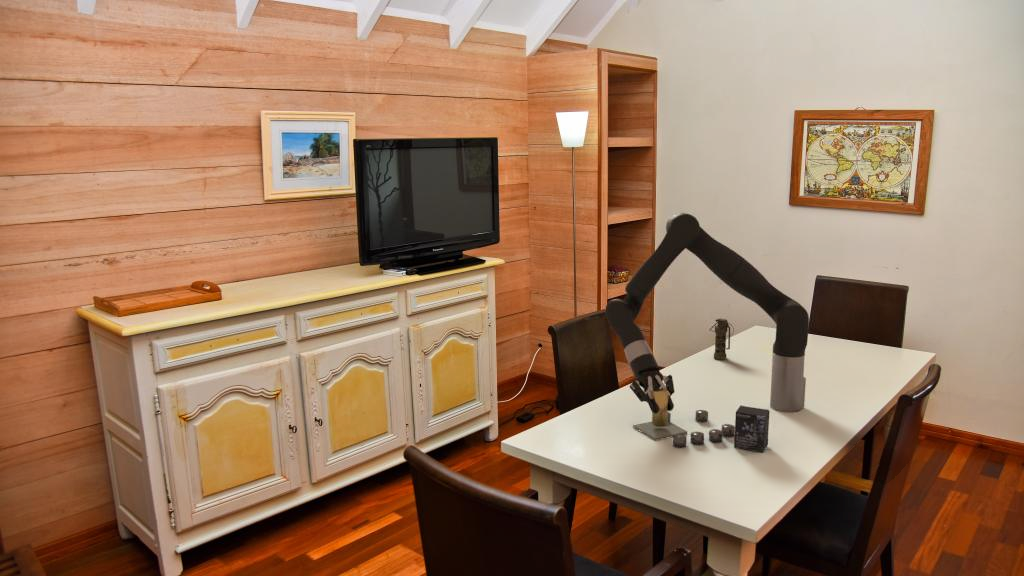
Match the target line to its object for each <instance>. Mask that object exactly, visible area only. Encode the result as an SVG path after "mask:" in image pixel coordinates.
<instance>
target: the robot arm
mask: <svg viewBox="0 0 1024 576" xmlns="http://www.w3.org/2000/svg"><path fill="white" fill-rule="evenodd" d="M665 230H666V231H665V232H666V233H665V235H664V237H663V239H662V240H661V242H660V244H659V245H658V246H657V248H656V249H655V250H654V252H653V253H652V254H651V255H650V256H649V257H648V258H647V259H646V260H645V261H644V262H643V263H642V265H640V267H639V268H638V269H637V270H636V271H635V273H634V275H632V277H631V278H630V279H629V281H628V282H627V284H626V286H625V288H624V290H625V293H626V295H625V296H624V298H623V300H622V299H620V298H614V299H613V298H612V299H611V300H609V301H608V302H607V304H606V305H605V316H606V320H607V322H608V323H609V324H610V327H611V328H612V329H613V331H614V332H615V334H616V336H617V337H618V338H619V341H620V344H621V346H622V348H623V351H624V353H625V357H626V360H627V362H628V365H629V367H630V369H631V371H632V374H633V376H634V378H635V380H633V381H632V382H631V383H630V385H629V388H630V389H631V391H632V392H633V394H634V395H635V396H636V398H637V399H638V400H639V402H643V403H644V402H646V403H647V404H648V407H649V409H650V411H651V413H652V412H653V413H654V414H657V413H658V412H659V408H658V406H657V404H656V401H655V400H654V399H653V389H656V388H663V389H667V390H668V412H672V411H673V409H674V407H675V404H674V402H673V399H672V398H671V397H672V396H673V394H675V386H674V380H673V375H672V374H668V375H663V373H661V372H660V367H659V364H658V362H657V360H656V358H655V356H654V354H653V351H652V349H651V348H650V345H649V344H648V342H647V340H646V338H645V336H644V333H643V332H642V330H641V328H640V327H639V326H638V325H637V324H636V323H635V320H637V319H636V318H637V317H638V316H639V313H640V311H641V309H642V307H643V305H644V302H645V300H646V299H647V297H648V295H649V294H650V293H651V292H652V290H653V289H654V288H655V287H656V285H657V284H658V282H659V281H660V279H661V278H662V277H663V275H664V274H665V273H666V272H667V270H668V268H669V267H670V266H671V265H672V264H673V262H674V261H675V260H676V259H677V258H678V257H679V255H681V253H682V252H683V251H684V250H685V249H686V250H687V251H689V252H690V253H692V254H693V255H695V256H696V257H697V258H698V259H699V260H700V261H701V262H702V263H703V264H704V265H705V266H706V267H707V268H708V269H709V270H710V271H711V272H712V273H713V274H714V275H715V276H716V277H717V278H719V280H720V281H722V282H723V283H724V284H726V285H727V286H728V287H729V288H731V290H734V292H736V293H737V294H739V295H740V296H743V297H744V298H746V299H747V300H749V301H751V302H753V303H754V304H756V305H757V306H758V307H760V309H761V310H763V312H765V314H767V315H768V316H769V317H770V318H771V319H772V320H773V322H774V323H775V325H776V327H775V329H776V330H775V339H774V342H773V344H772V359H771V361H772V362H771V376H770V377H771V383H770V402H769V404H770V405H769V406H770V408H772V409H773V410H776V411H779V412H785V413H786V412H787V413H788V412H791V413H793V412H799V411H801V410H802V408H805V401H806V383H807V379H806V377H805V376H804V375H805V374H804V373H805V356H806V349H807V346H808V339H809V329H810V328H809V327H810V318H809V317H810V316H809V313H808V311H807V310H806V308H805V307H804V306H803V305H801V303H799V302H798V301H796V300H795V299H793V298H792V297H790V296H788V295H787V294H786V293H783V292H782V291H781V290H779V289H778V288H776V287H775V286H774V285H772V284H771V282H769V280H768V279H767V278H766V277H765V275H763V274H762V273H761V272H760V271H759V270H758V269H757V268H756V267H755V266H754V265H753V264H752V263H751V262H749V261H748V260H746V258H744V257H743V256H741V255H740V254H739V253H738V252H736V251H734V250H733V249H732V248H731V247H728V246H727V245H725V244H723V243H721V242H719V241H718V240H716V239H715V238H714V237H712V236H711V235H710V234H708V232H706V231H705V229H703V228H702V227H701V226H700V222H699V220H698V219H697V218H696V216H694V215H692V214H690V213H686V212H678V213H675V214H673V215H671V216H670V217H669V218H668V219H667V221H666V225H665Z"/></svg>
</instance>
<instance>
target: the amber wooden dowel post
mask: <svg viewBox="0 0 1024 576" xmlns="http://www.w3.org/2000/svg"><path fill="white" fill-rule="evenodd" d="M653 399H654V400H655V401H656V404H657V406H658V408H659V412H658V413H657V414H654V413H653V412H652V411H651V413H652V414H651V421H652V425H654V426H657V427H664V426H667V425H668V412H669V411H668V390H667V389H663V388H661V387H660V388H656V389H653Z"/></svg>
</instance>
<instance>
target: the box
mask: <svg viewBox="0 0 1024 576" xmlns="http://www.w3.org/2000/svg"><path fill="white" fill-rule="evenodd" d="M770 411H771V410H770V409H764V408H759V407H751V406H747V405H739V407H738V408H737V410H736V411H735V421H734V424H735V425H734V426H735V436H734V443H733V447H734V448H735V449H740V450H741V449H742V450H747V451H752V452H758V453H761V454H764V453H765V451H766V449H767V447H768V445H769V444H768V443H769V427H770Z"/></svg>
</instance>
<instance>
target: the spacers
mask: <svg viewBox="0 0 1024 576" xmlns="http://www.w3.org/2000/svg"><path fill="white" fill-rule="evenodd" d="M671 415H672V414H671V412H670V411H668V422H671V418H672V417H671ZM694 420H695V421H696V422H697V423H707V422H708V421H709V411H707V410H705V409H697V410H696V411H695V419H694ZM723 437H724V438H733V437H734V438H735V425H733V424H730V423H729V424H728V423H725V424H721V430H720V429H714V428H713V429H710V430H709V431H708V441H709V442H711V443H715V444H716V443H717V444H719V443H722V442H723ZM690 444H691V445H694V446H702V445H704V444H705V433H704V432H701V431H692V432H690ZM672 446H673V448H677V449H685V448H686V447H687V436H686V435H685V434H683V435H681V434H677V435H674V436H673V437H672Z"/></svg>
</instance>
